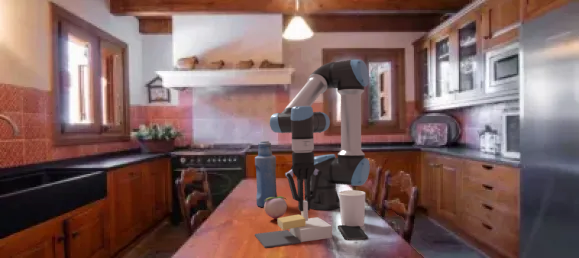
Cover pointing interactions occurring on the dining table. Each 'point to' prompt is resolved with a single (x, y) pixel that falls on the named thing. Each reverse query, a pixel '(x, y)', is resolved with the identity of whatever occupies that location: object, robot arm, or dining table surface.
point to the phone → (352, 232)
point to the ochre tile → (291, 222)
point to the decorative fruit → (275, 206)
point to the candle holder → (352, 207)
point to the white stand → (313, 230)
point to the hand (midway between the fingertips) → (304, 220)
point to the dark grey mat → (277, 238)
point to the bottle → (265, 173)
